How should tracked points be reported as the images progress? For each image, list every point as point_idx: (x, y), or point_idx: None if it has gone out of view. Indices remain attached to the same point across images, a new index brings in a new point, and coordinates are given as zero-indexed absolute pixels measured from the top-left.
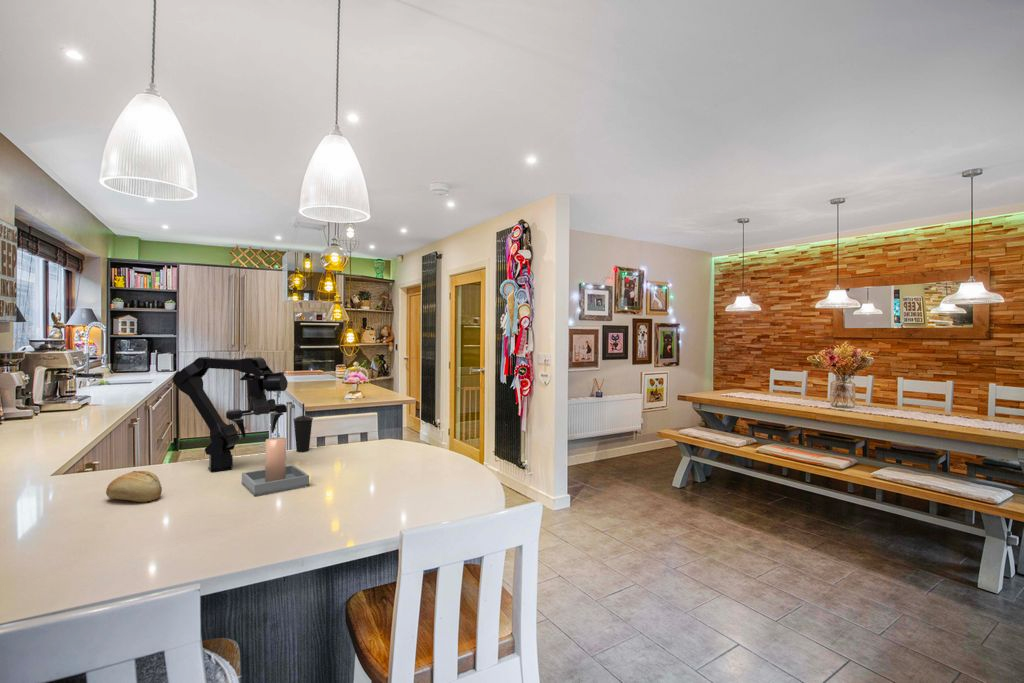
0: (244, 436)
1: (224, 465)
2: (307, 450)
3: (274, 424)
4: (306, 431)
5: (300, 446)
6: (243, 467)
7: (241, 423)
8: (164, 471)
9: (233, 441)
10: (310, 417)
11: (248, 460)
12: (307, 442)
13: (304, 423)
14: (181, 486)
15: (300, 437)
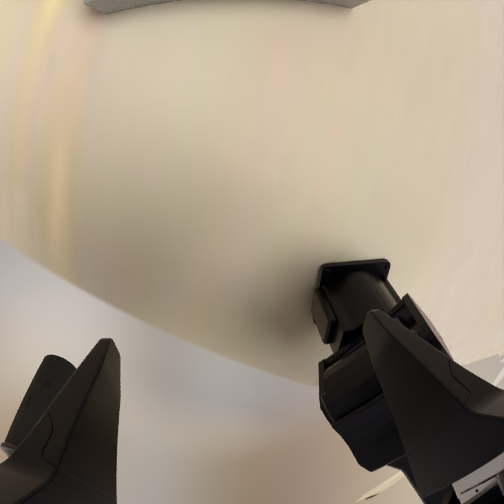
0: (380, 314)
1: (353, 278)
2: (45, 357)
3: (64, 408)
4: (24, 410)
5: (58, 373)
6: (274, 273)
7: (484, 404)
8: (441, 328)
9: (362, 361)
10: (8, 456)
11: (232, 352)
12: (35, 378)
13: (21, 439)
14: (489, 146)
15: (48, 400)
